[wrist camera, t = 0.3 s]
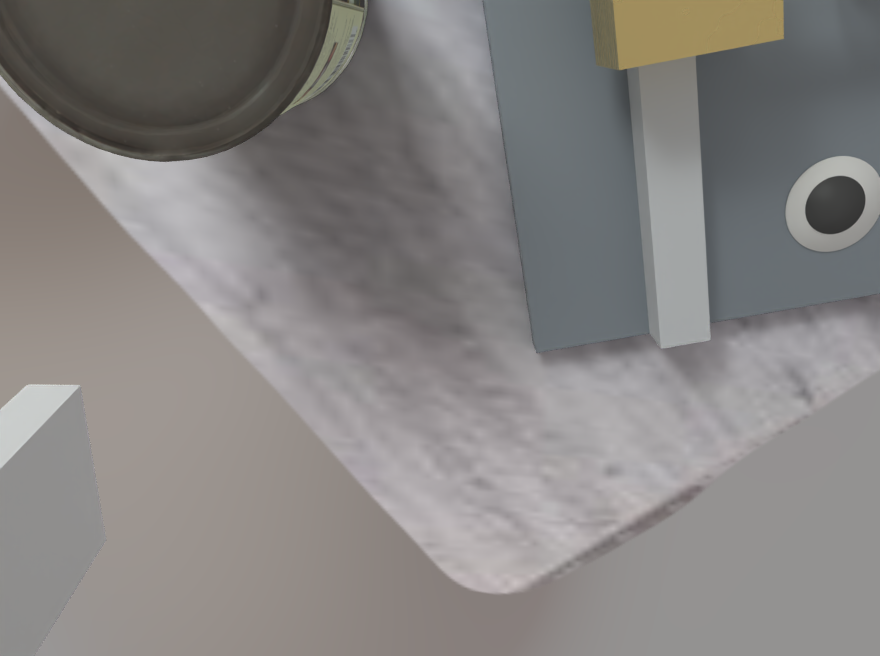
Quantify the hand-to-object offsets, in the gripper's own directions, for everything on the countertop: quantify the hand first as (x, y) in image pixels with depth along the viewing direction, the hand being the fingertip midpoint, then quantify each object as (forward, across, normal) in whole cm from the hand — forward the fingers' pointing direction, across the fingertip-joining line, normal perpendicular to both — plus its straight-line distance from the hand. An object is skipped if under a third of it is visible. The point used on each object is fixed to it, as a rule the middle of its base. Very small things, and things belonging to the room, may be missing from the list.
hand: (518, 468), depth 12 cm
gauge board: (+27, +11, +6) cm, 29 cm away
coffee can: (+27, -9, +8) cm, 29 cm away
